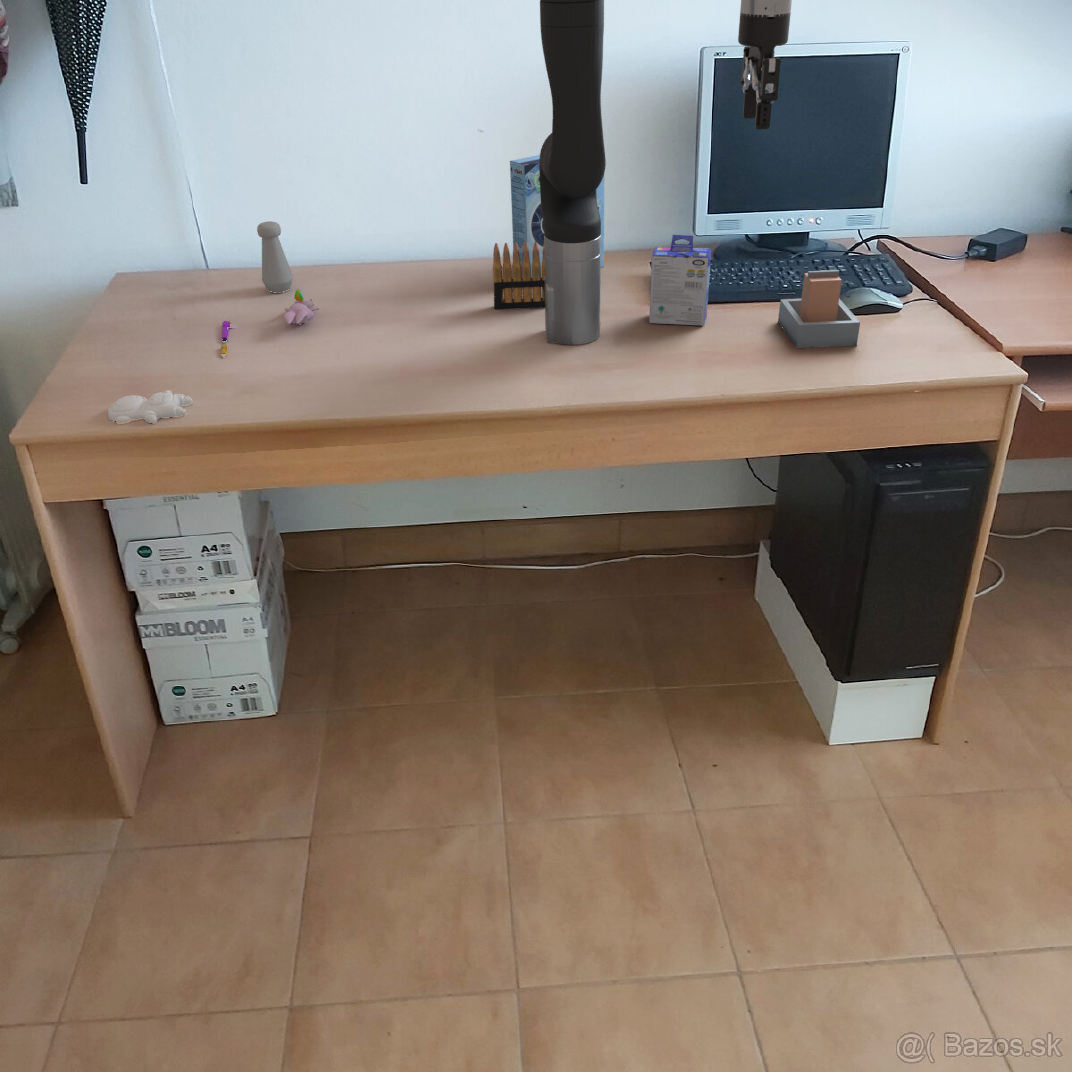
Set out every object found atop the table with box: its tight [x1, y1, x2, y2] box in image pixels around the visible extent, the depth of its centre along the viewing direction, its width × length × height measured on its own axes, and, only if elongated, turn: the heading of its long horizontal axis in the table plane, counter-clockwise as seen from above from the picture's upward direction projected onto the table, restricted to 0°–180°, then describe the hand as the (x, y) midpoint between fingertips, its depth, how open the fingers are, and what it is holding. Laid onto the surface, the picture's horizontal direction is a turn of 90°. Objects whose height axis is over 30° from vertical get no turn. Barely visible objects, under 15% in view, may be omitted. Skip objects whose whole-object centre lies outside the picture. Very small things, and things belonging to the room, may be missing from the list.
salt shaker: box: [256, 220, 294, 292], centre depth 192 cm, size 6×6×13 cm
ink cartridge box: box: [648, 234, 712, 327], centre depth 173 cm, size 10×6×14 cm, turn 78°
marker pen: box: [220, 320, 231, 355], centre depth 175 cm, size 3×1×16 cm
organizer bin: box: [777, 297, 861, 349], centre depth 169 cm, size 10×12×4 cm
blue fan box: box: [509, 154, 605, 278], centre depth 193 cm, size 20×5×23 cm, turn 127°
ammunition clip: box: [492, 241, 545, 311], centre depth 182 cm, size 11×2×12 cm, turn 93°
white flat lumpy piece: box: [107, 389, 194, 423], centre depth 151 cm, size 9×12×3 cm
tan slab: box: [799, 269, 843, 323], centre depth 167 cm, size 5×4×10 cm
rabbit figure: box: [283, 289, 320, 325], centre depth 180 cm, size 6×6×15 cm
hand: (755, 123), depth 161 cm, fingers open, 8 cm apart
